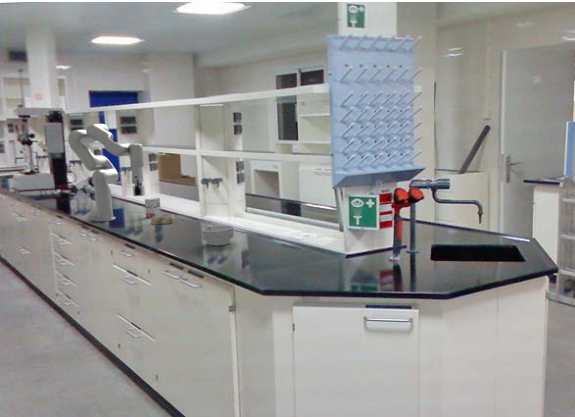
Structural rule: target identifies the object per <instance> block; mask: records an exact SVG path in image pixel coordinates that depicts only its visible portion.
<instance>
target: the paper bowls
mask: <svg viewBox="0 0 575 417" xmlns="http://www.w3.org/2000/svg"><path fill="white" fill-rule="evenodd" d="M201 234H202V235H201V236H202V240H203V241H205V242H206V243H207V244H208V245H209V246H212V245H213V246H214V247H218V246H220V245H221V246H226V245H228V244H229V243H230V242H231V239H233V238H234V237H235V236H234V234H235V233H234V227H233V226H231V225H213V226H212V225H211V226H207V227H204V228H202V229H201Z"/></svg>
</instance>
